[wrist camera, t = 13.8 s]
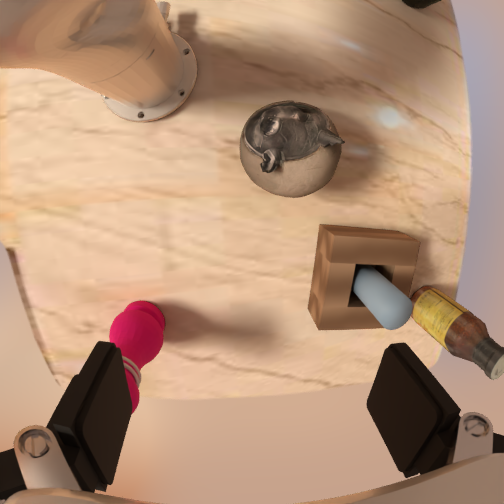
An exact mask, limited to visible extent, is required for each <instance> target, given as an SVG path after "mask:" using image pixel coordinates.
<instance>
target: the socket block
mask: <svg viewBox="0 0 504 504" xmlns="http://www.w3.org/2000/svg"><path fill="white" fill-rule="evenodd" d="M419 247H420V242H419V241H417V240H415V239H413V238H411V237H409V236H407V235H405V234H403V233H401V232H399V231H393V230H382V229H371V228H359V227H347V226H335V225H322V224H319V233H318V241H317V248H316V256H315V263H314V270H313V277H312V284H311V291H310V297H309V304H308V310H309V312H310V314H311V316H312V318H313V320H314V322H315V324H316V326H317V328H318V330H349V329H374V328H384V327H383V326H382V325H381V324H380V322H379V321H378V320H377V319H376V318H375V316H374V315H373V314H372V313H371V312H370V310H369V309H368V308H367V307H366V306H365V304H364V303H363V302H362V301H361V300H360V299H359V297H358V296H357V295H356V294H355V293H354V292H353V290H352V289H351V287H352V281H353V276H354V270H355V265H356V264H370V265H371V266H372V267H373V268H374V269H376V270H377V271H378V272H379V273H380V274H382V275H383V276H384V277H385V278H386V279H387V280H389V281H390V282H391V283H392V284H393V285H394V286H395V287H397V288H398V289H399V290H400V291H401V292H402V293H404V294H405V295H406V296H407V297H408V296H409V292H410V288H411V284H412V279H413V275H414V271H415V266H416V261H417V257H418V252H419Z"/></svg>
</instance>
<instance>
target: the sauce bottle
mask: <svg viewBox="0 0 504 504" xmlns="http://www.w3.org/2000/svg"><path fill="white" fill-rule="evenodd" d="M411 302H412V306H413V309H412V313H411V317H412V318H413V319H414V320H415V322H416V323H417V324H419V325H420V326H421V327H422V328H423V329H424V330H425V331H427V332H428V333H429V334H430V335H431V336H432V337H433V338H434V339H435V340H436V341H437V342H439V343H440V344H441V345H442V346H443V347H444V348H445V349H446V350H447V351H448V352H450V353H451V354H452V355H454V356H456V357H459V358H462V359H465V360H468V361H471V362H474V363H475V364H477V365H478V366H479V367H480V368H481V369H482V370H484V372H485V374H486V375H487V376H488V377H489V378H490V379H493V380H494V379H497V378H499V377H500V376H501V375H502V374H503V373H504V347H501V346H500V345H498V344H497V343H496V342H495V341H494V340H493V339H492V338H490V336H489V334H488V332H487V328H486V325H485V323H483V322H482V321H481V320H480V319H479V318H477V317H476V316H474V315H473V314H472V313H471V312H470V311H469V310H467V309H465V308H464V307H463V306H461V305H460V304H458V303H457V302H455V301H454V300H452V299H451V298H450V297H448V296H447V295H445V294H444V293H442V292H441V291H439V290H437V289H435V288H433V287H429V286H424V287H422V288H420V289H419V290H418V291H417V292H415V293H414V295H413V297H412V298H411Z"/></svg>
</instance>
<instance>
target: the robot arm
mask: <svg viewBox="0 0 504 504" xmlns="http://www.w3.org/2000/svg"><path fill="white" fill-rule="evenodd" d="M169 10H170V4H169V3H168V2H158V3H156V2H155V0H0V68H32V69H40V70H45V71H48V72H52V73H54V74H57V75H60V76H62V77H65V78H67V79H69V80H71V81H73V82H75V83H78V84H80V85H82V86H84V87H87V88H89V89H91V90H93V91H95V92H97V93H100V94H101V96H102V99H103V101H104V103H105V104H106V106H107V107H108V108H109V109H110V110H111V111H112V112H113V113H114V114H116V115H117V116H119V117H121V118H123V119H126V120H129V121H134V122H148V121H154V120H157V119H160V118H163V117H165V116H167V115H168V114H170V113H172V112H173V111H175V110H176V109H177V108H178V107H180V106H181V105H182V104H183V102H184V101H185V100H186V99H187V98H188V96H189V95H190V93H191V92H192V89H193V87H194V85H195V82H196V77H197V62H196V57H195V54H194V52H193V50H192V48H191V47H190V45H189V44H188V43H187V42H186V41H185V40H184V39H183V38H182V37H180V36H179V35H177V34H175V33H172V32H170V31H169V29H168V28H169V24H168V23H166V22H167V17H168V16H169ZM187 52H188V53H189V54H188V55H185V53H187ZM182 92H184V95H183V96H181V93H182ZM142 114H144V117H143V118H142V117H141V115H142ZM132 407H133V406H132V400H131V396H130V391H129V387H128V383H127V378H126V373H125V368H124V363H123V358H122V353H121V349H120V348H119V347H116V345H115V343H112V342H103V341H98V342H97V344H96V345H95V347H94V349H93V350H92V352H91V354H90V356H89V357H88V359H87V361H86V362H85V364H84V366H83V368H82V369H81V371H80V373H79V375H78V374H77V375H75V376H74V377H73V378H72V380H71V382H70V384H69V385H68V387H67V389H66V391H65V393H64V395H63V396H62V398H61V400H60V402H59V404H58V406H57V407H56V409H55V411H54V413H53V415H52V417H51V419H50V421H49V423H48V425H47V427H43V426H38V425H33V426H28V427H26V428H24V429H22V430H21V431H19V432H18V434H17V435H16V437H15V440H14V448H13V449H10V450H7V451H4V452H1V453H0V504H162V503H153V502H145V501H138V500H131V499H125V498H120V497H114V496H108V495H103V494H97V493H94V492H95V489H96V490H100V491H104V492H106V488H107V484H108V485H111V484H112V483H113V480H114V476H115V472H116V467H117V464H118V460H119V456H120V453H121V449H122V445H123V441H124V438H125V435H126V431H127V428H128V424H129V420H130V417H131V414H132ZM367 408H368V411H369V412H370V415H371V416H372V419H373V420H374V422H375V424H376V426H377V428H378V430H379V432H380V434H381V436H382V438H383V440H384V442H385V444H386V446H387V448H388V450H389V452H390V454H391V456H392V458H393V460H394V462H395V464H396V466H397V468H398V470H399V471H400V472H403V473H404V476H405V477H406V478H408V477H411V476H414V475H417V474H418V473H420V475H419V476H416V477H414V478H410V479H407V480H404V481H401V482H398V483H394V484H391V485H387V486H384V487H380V488H376V489H372V490H368V491H364V492H360V493H355V494H350V495H346V496H341V497H335V498H330V499H324V500H318V501H311V502H304V503H295V504H504V436H503V435H500V434H496V433H493V426H492V424H491V422H490V420H489V419H488V418H487V417H485V416H484V415H482V414H480V413H476V412H469V413H466V414H464V415H463V416H462V417H460V416H459V413H460V411H461V409H460V408H459V407H458V406H457V404H456V403H455V402H454V401H453V399H452V398H451V397H450V396H449V394H448V393H447V392H446V391H445V389H444V388H443V387H442V386H441V384H440V383H439V382H438V381H437V380H436V378H435V377H434V376H433V375H432V373H431V372H430V371H429V370H428V369H427V367H426V366H425V365H424V364H423V363H422V361H421V360H420V359H419V358H418V357H417V356H416V354H415V353H414V352H413V351H412V350H411V349H410V347H409V346H408V345H407V344H406V343H395V344H390V345H389V347H388V348H386V349H385V351H384V354H383V357H382V360H381V363H380V366H379V369H378V372H377V375H376V378H375V380H374V383H373V386H372V389H371V391H370V394H369V397H368V399H367Z"/></svg>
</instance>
